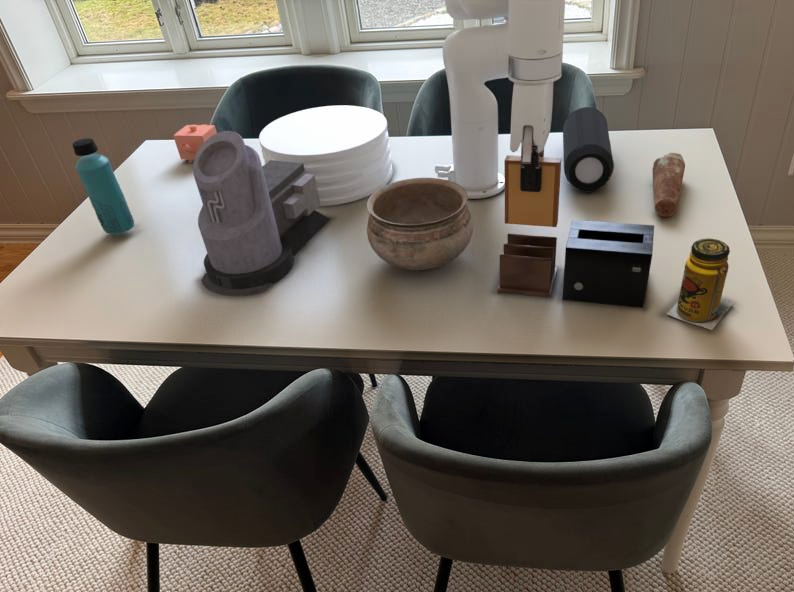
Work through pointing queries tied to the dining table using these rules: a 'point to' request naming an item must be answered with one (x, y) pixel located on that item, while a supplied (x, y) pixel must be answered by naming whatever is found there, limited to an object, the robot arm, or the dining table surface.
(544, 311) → the dining table surface
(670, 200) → the reddish-brown tapered rod
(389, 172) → the plate stack
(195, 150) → the pink cube teapot
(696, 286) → the condiment
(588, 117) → the portable speaker
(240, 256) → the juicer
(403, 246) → the cooking pot
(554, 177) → the toast
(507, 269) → the rack
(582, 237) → the toaster
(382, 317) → the dining table surface
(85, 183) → the beverage bottle
